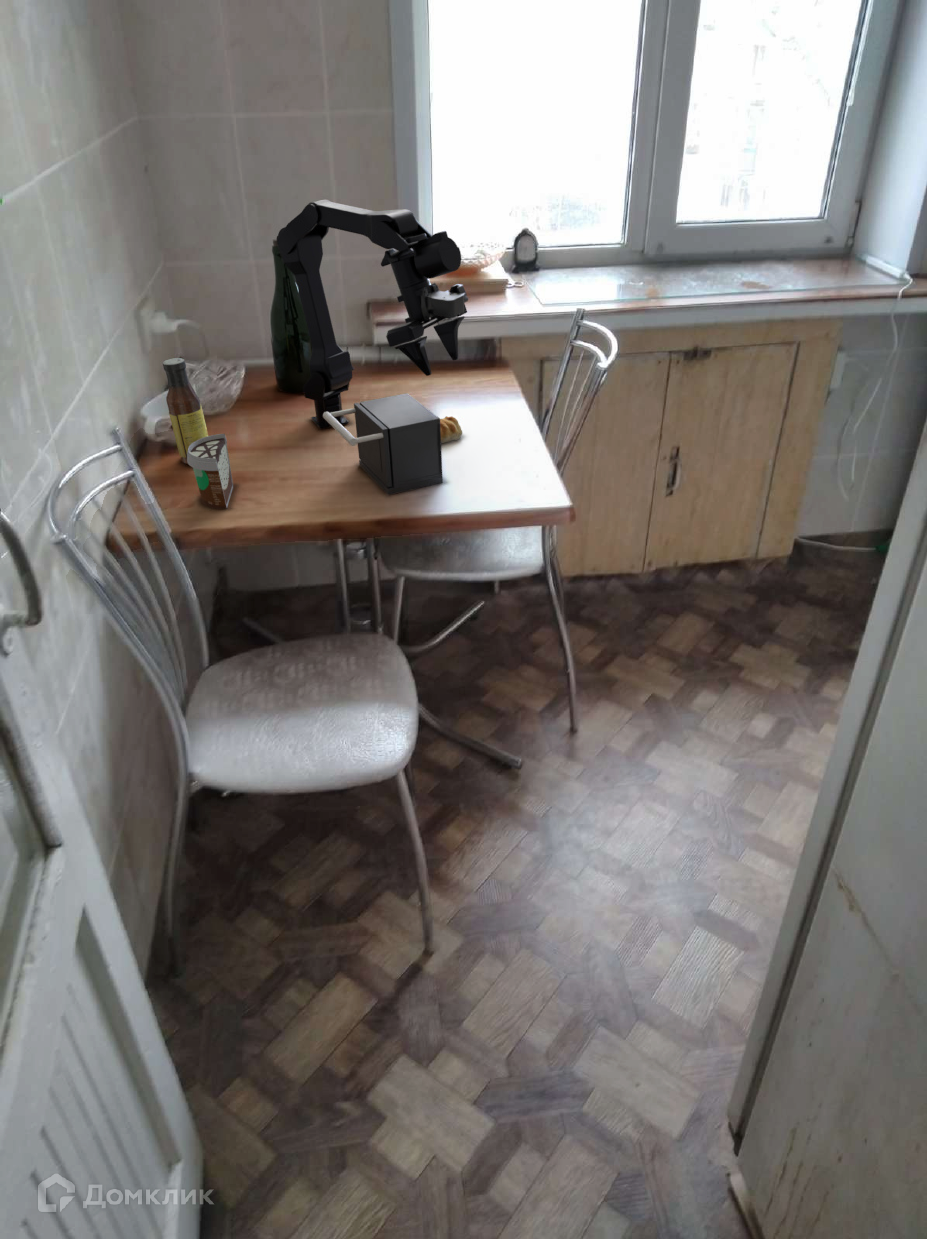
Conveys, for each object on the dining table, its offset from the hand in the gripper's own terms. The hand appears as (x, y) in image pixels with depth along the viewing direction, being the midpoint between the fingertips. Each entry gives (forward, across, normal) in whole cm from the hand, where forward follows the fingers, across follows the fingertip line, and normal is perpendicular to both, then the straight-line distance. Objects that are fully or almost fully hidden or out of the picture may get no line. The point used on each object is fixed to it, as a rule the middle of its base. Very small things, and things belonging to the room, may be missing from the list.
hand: (442, 367), depth 171 cm
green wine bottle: (-1, +15, +54) cm, 56 cm away
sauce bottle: (+2, -28, +44) cm, 52 cm away
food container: (+6, -39, +30) cm, 49 cm away
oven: (+15, -14, +7) cm, 22 cm away
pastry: (+15, +4, +10) cm, 18 cm away
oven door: (+12, -21, +11) cm, 26 cm away
